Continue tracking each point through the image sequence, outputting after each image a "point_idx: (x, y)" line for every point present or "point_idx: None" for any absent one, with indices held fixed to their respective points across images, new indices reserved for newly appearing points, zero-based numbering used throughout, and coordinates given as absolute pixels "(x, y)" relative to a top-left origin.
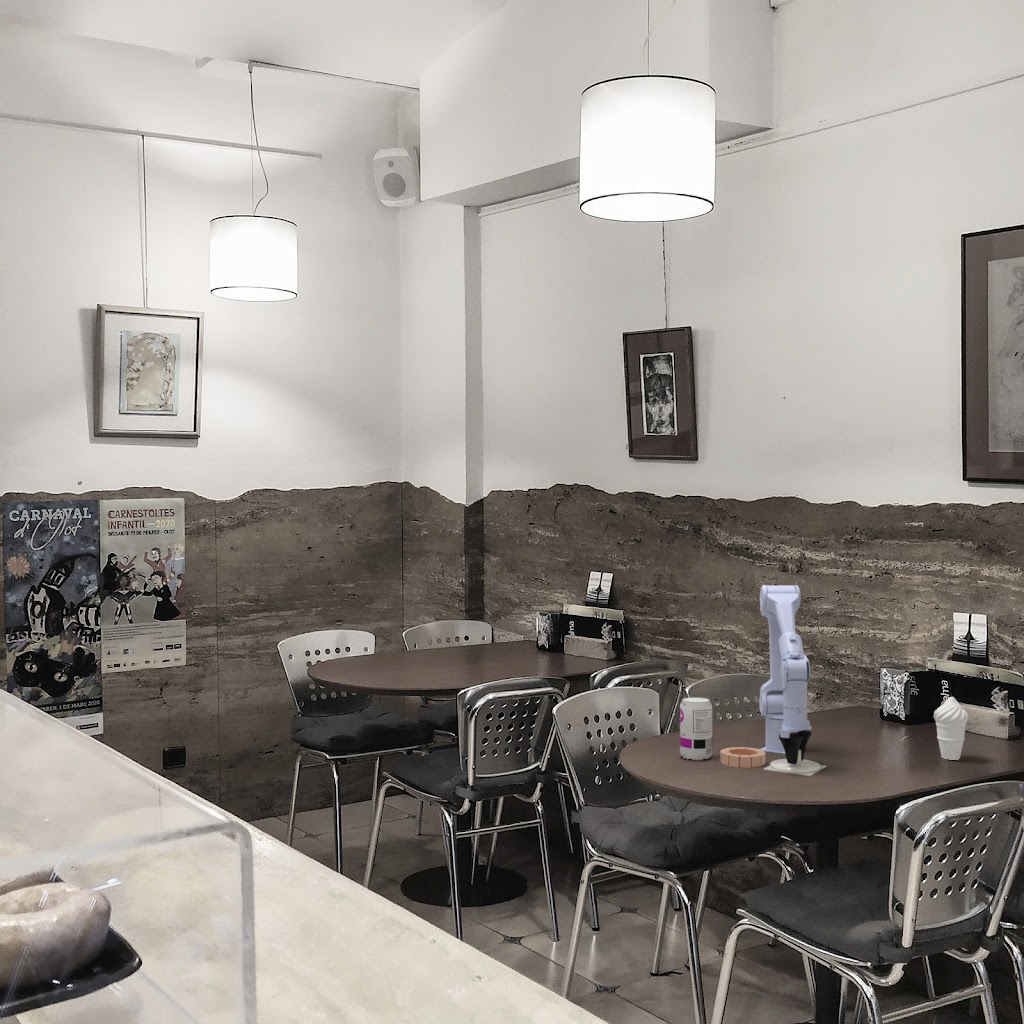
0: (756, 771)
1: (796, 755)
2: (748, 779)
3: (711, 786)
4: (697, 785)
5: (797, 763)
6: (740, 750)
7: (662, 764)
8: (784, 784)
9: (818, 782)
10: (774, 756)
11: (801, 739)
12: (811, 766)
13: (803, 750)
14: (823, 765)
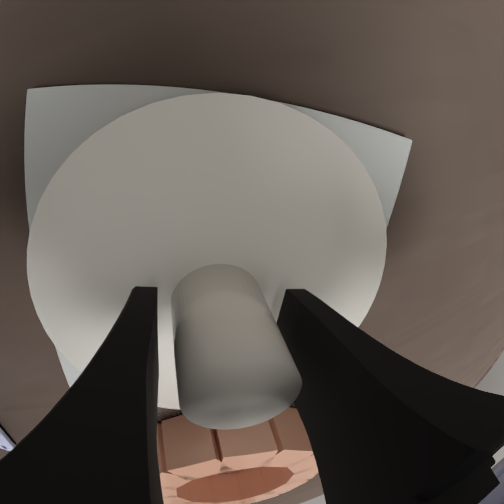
0: None
1: (356, 327)
2: (439, 346)
3: (479, 362)
4: (468, 381)
5: (257, 288)
6: (186, 494)
7: (308, 488)
8: (497, 227)
9: (470, 87)
10: (24, 413)
11: (481, 428)
12: (236, 168)
13: (149, 348)
14: (30, 121)
